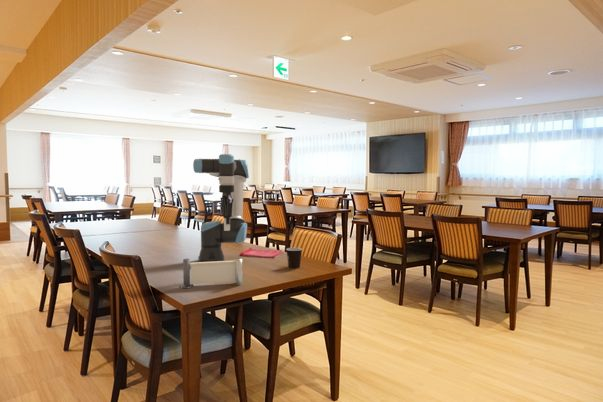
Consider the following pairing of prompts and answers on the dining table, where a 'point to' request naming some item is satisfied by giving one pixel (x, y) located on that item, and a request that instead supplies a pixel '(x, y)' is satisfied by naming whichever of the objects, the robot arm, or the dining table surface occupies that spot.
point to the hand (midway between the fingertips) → (227, 230)
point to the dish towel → (261, 253)
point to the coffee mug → (294, 257)
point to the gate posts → (238, 274)
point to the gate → (209, 272)
